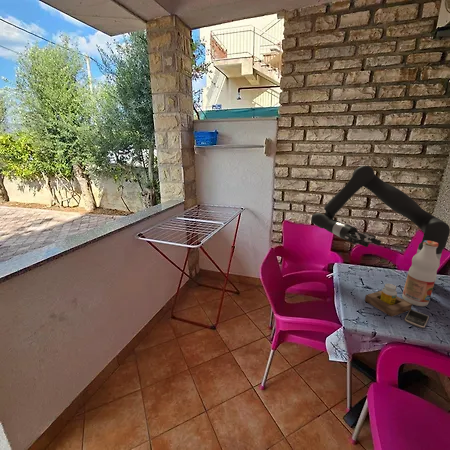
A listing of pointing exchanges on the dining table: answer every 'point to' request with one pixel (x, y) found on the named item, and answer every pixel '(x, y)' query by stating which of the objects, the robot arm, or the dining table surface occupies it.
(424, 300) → the fruit juice
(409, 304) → the walnut holder
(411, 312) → the cell phone
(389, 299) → the supplement bottle
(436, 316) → the dining table surface
